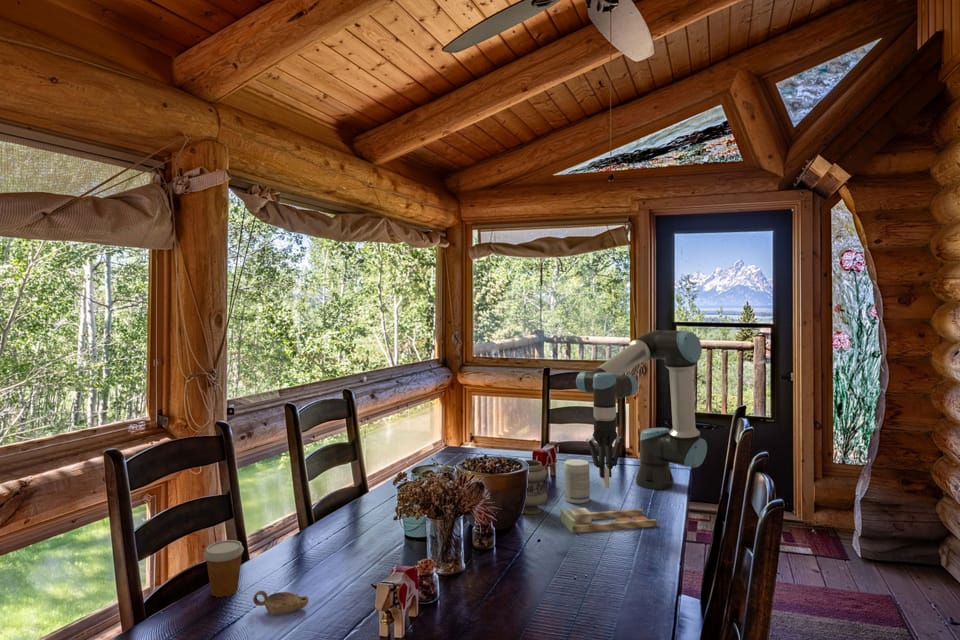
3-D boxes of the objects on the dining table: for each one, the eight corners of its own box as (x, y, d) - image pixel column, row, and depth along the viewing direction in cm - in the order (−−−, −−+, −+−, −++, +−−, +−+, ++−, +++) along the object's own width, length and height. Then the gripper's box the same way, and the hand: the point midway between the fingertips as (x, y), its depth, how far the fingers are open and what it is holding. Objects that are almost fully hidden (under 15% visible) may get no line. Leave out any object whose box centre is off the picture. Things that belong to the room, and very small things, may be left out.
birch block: (584, 522, 207) (585, 507, 207) (591, 528, 201) (591, 513, 201) (568, 523, 206) (568, 508, 206) (574, 529, 200) (574, 515, 200)
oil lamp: (311, 603, 151) (311, 583, 151) (303, 619, 144) (302, 598, 144) (259, 603, 151) (259, 583, 151) (248, 619, 144) (248, 598, 144)
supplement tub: (594, 500, 230) (594, 462, 229) (579, 506, 223) (579, 466, 223) (574, 494, 237) (574, 457, 236) (558, 500, 230) (559, 461, 230)
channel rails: (641, 514, 214) (641, 508, 214) (656, 526, 203) (656, 520, 203) (560, 520, 208) (561, 514, 208) (572, 532, 197) (572, 526, 197)
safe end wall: (563, 520, 209) (563, 508, 208) (575, 532, 197) (575, 520, 197) (560, 520, 208) (560, 509, 208) (571, 532, 197) (571, 520, 197)
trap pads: (642, 515, 213) (642, 515, 213) (654, 524, 204) (654, 523, 204) (614, 518, 211) (614, 517, 211) (624, 526, 202) (624, 526, 202)
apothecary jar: (508, 514, 214) (508, 464, 214) (521, 504, 225) (521, 456, 224) (539, 520, 209) (539, 468, 208) (552, 509, 219) (552, 460, 219)
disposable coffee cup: (232, 580, 164) (232, 536, 163) (251, 590, 158) (250, 545, 157) (197, 593, 156) (197, 547, 156) (215, 604, 150) (215, 557, 150)
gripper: (618, 415, 209) (618, 481, 210) (582, 417, 207) (583, 484, 208) (627, 419, 202) (628, 488, 203) (590, 421, 199) (591, 492, 201)
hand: (605, 486), depth 205 cm, fingers closed
